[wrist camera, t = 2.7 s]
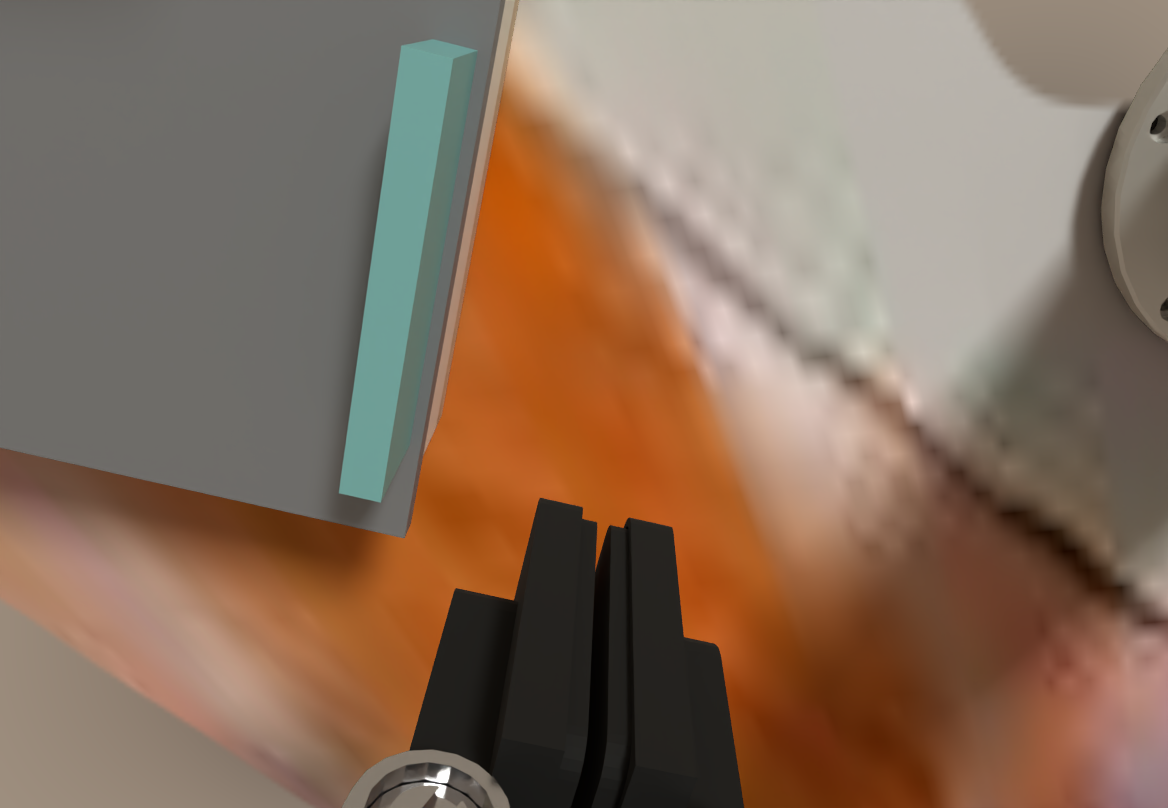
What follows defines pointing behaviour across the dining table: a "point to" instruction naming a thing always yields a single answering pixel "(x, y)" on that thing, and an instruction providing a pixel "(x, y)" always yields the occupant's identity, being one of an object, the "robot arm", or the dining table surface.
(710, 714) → the robot arm
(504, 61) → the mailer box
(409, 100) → the lid
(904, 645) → the dining table surface
